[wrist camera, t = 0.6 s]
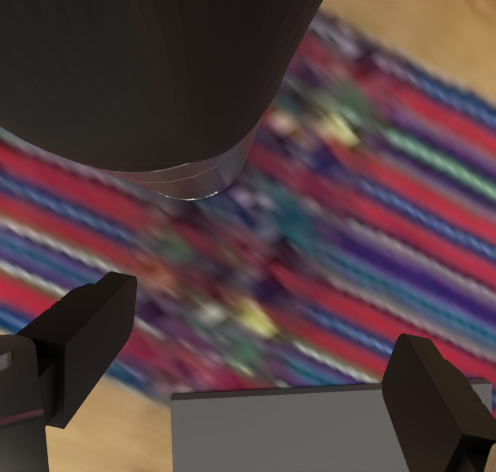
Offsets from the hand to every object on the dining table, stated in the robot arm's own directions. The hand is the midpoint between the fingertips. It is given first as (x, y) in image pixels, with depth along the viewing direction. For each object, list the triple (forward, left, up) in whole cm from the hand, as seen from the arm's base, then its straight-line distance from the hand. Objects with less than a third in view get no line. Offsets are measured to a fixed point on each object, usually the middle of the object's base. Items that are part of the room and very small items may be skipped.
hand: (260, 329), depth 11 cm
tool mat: (+18, +7, -18) cm, 26 cm away
